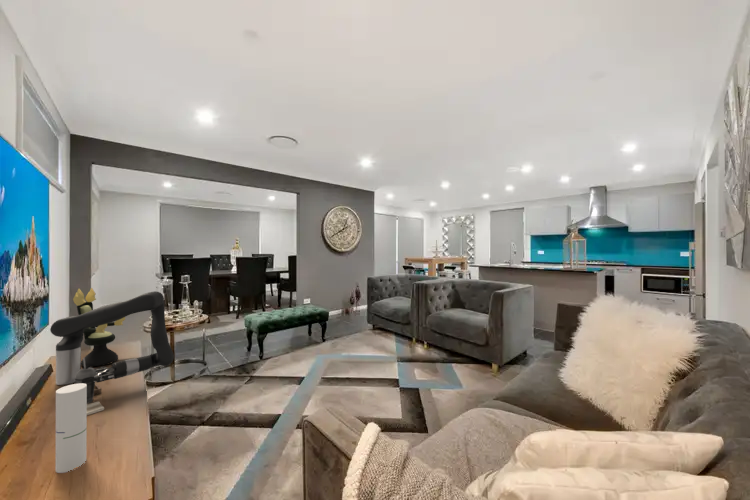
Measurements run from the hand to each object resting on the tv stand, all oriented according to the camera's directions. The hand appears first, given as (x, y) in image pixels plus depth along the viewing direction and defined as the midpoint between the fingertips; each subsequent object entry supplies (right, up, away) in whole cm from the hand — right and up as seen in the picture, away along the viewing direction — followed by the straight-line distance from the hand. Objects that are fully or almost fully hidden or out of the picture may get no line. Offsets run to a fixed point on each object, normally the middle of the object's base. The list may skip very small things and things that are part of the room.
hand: (79, 379), depth 138 cm
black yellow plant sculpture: (-35, -10, +47) cm, 60 cm away
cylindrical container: (+33, -12, -37) cm, 51 cm away
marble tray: (-6, -11, +10) cm, 16 cm away
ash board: (+7, -11, -6) cm, 15 cm away
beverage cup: (+1, -11, +2) cm, 11 cm away
